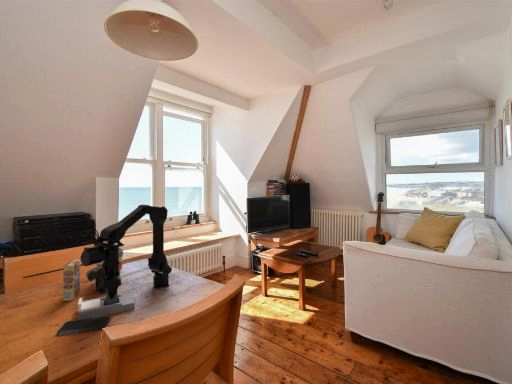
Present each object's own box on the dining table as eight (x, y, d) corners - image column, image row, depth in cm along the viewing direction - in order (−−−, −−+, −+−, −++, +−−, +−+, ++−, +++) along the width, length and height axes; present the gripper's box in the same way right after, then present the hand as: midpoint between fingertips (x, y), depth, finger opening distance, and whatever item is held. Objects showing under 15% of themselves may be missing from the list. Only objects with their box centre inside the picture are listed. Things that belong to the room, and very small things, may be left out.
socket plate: (132, 297, 113) (132, 291, 113) (134, 308, 104) (134, 301, 104) (80, 308, 103) (80, 300, 103) (77, 321, 94) (77, 313, 94)
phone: (105, 327, 89) (55, 333, 85) (105, 330, 89) (55, 336, 85) (112, 316, 97) (66, 320, 93) (112, 318, 97) (66, 323, 93)
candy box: (74, 300, 110) (74, 265, 110) (62, 301, 109) (62, 266, 108) (80, 291, 119) (80, 259, 118) (69, 293, 117) (69, 260, 117)
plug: (117, 300, 107) (116, 279, 107) (117, 304, 104) (117, 283, 103) (106, 303, 105) (105, 281, 105) (106, 307, 102) (105, 285, 101)
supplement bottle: (103, 293, 117) (103, 268, 116) (91, 292, 118) (90, 266, 118) (115, 287, 124) (114, 263, 123) (102, 286, 125) (102, 262, 124)
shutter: (100, 300, 105) (99, 294, 105) (99, 307, 99) (99, 300, 99) (79, 304, 102) (79, 297, 102) (77, 311, 96) (77, 305, 96)
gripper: (88, 255, 108) (89, 292, 108) (85, 269, 91) (86, 311, 92) (118, 252, 113) (119, 286, 114) (121, 264, 97) (121, 304, 98)
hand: (111, 296), depth 104 cm, fingers closed on plug, 4 cm apart
